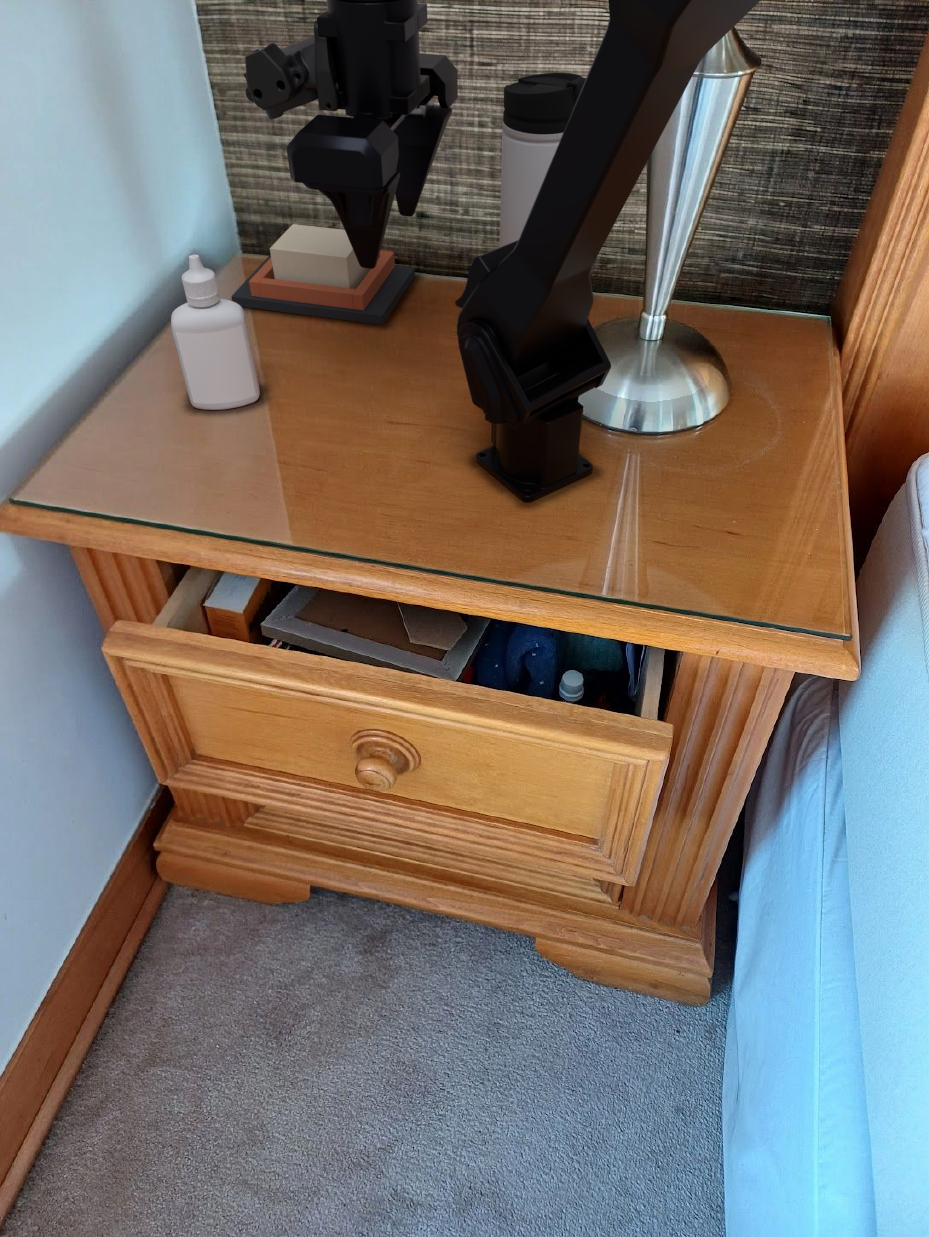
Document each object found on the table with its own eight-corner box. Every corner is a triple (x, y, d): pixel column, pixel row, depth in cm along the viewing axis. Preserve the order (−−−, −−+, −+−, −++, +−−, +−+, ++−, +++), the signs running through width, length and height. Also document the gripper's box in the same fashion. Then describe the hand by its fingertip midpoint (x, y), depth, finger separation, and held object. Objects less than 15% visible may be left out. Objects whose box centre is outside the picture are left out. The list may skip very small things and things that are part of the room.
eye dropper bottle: (244, 419, 72) (214, 275, 64) (182, 407, 74) (144, 264, 65) (268, 390, 75) (242, 248, 67) (208, 380, 77) (174, 239, 68)
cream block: (370, 273, 88) (366, 232, 85) (350, 299, 84) (346, 257, 81) (298, 264, 89) (292, 224, 86) (276, 290, 86) (269, 248, 83)
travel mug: (547, 341, 81) (564, 92, 66) (485, 322, 83) (488, 78, 69) (580, 312, 84) (603, 70, 70) (519, 294, 87) (529, 57, 72)
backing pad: (415, 276, 89) (414, 252, 88) (383, 325, 83) (381, 300, 81) (275, 260, 92) (271, 235, 90) (232, 306, 85) (227, 280, 84)
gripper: (307, -46, 64) (331, 183, 75) (184, 22, 51) (236, 284, 63) (458, -38, 62) (460, 196, 73) (369, 35, 49) (388, 303, 61)
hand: (388, 240), depth 68 cm, fingers open, 9 cm apart
